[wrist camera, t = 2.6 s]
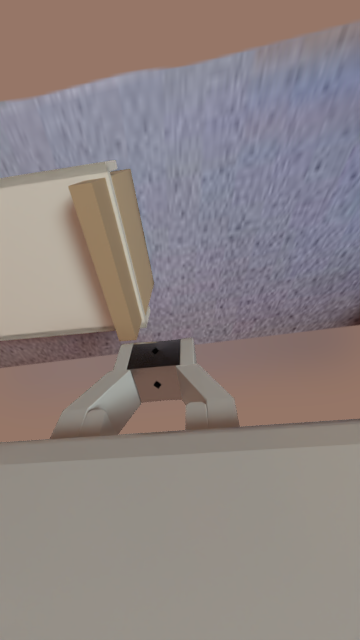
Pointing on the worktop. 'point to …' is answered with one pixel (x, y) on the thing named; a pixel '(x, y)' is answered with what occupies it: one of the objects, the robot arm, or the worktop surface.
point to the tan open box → (133, 232)
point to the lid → (65, 256)
